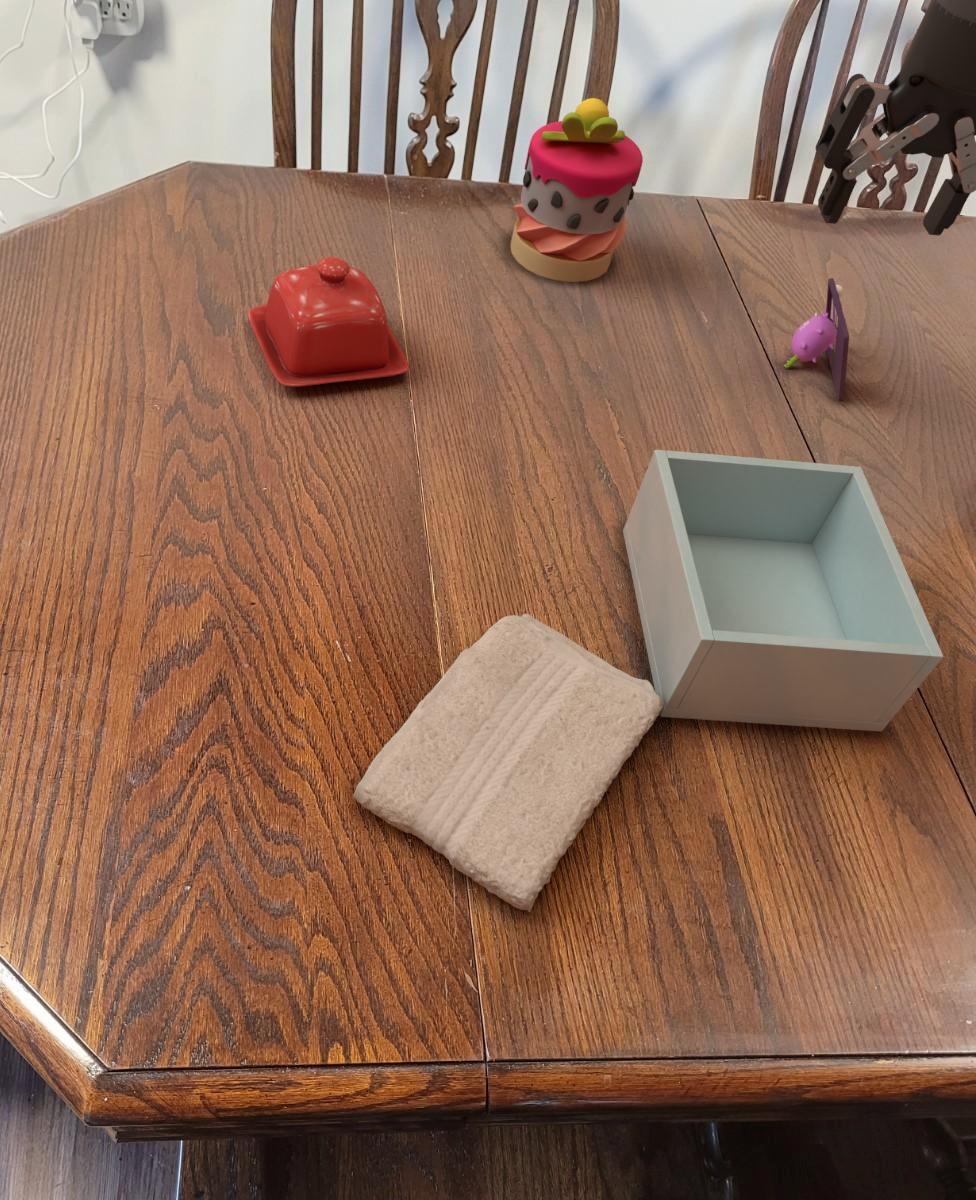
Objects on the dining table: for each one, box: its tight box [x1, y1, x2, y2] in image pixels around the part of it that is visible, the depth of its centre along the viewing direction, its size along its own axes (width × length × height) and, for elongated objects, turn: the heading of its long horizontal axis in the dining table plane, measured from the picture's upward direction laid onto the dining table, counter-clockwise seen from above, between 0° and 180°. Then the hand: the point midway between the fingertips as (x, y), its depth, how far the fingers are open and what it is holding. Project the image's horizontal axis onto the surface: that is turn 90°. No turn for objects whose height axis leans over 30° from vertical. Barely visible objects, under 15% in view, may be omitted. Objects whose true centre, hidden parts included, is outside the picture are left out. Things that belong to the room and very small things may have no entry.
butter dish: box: [247, 256, 410, 388], centre depth 85 cm, size 12×12×8 cm
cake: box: [510, 97, 644, 283], centre depth 96 cm, size 10×11×15 cm
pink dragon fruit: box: [783, 277, 850, 402], centre depth 91 cm, size 7×5×9 cm
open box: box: [622, 449, 944, 732], centre depth 69 cm, size 15×17×8 cm
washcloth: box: [352, 613, 663, 913], centre depth 62 cm, size 12×18×3 cm, turn 145°
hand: (879, 224), depth 83 cm, fingers open, 8 cm apart
